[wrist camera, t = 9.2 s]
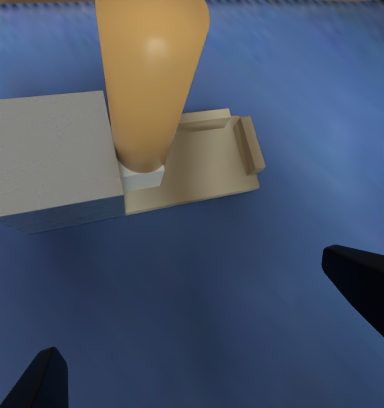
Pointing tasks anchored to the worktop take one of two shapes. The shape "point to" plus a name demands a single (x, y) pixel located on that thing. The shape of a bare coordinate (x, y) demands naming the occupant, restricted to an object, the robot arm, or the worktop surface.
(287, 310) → the worktop surface
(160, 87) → the orange upright rod
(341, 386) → the worktop surface
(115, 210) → the socket
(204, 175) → the cradle
